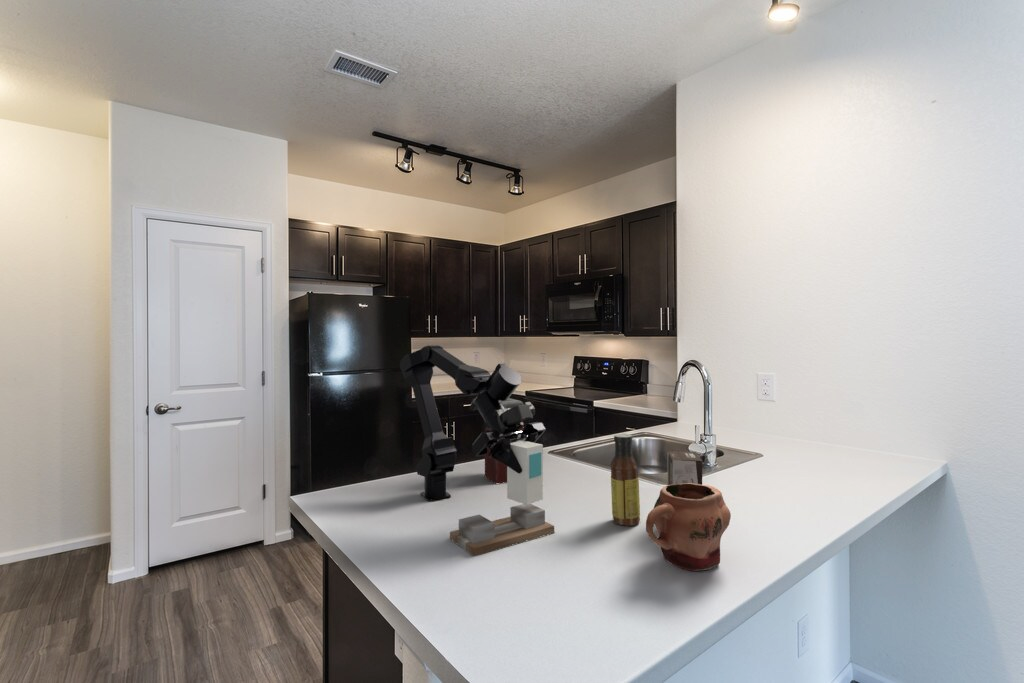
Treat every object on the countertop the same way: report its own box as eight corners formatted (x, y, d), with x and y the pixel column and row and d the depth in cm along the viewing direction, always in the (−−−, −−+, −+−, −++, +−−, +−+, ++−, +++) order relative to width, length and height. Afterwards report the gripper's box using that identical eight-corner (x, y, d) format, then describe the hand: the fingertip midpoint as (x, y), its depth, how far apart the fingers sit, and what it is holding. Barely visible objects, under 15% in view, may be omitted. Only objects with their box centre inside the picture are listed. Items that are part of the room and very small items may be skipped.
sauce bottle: (641, 519, 115) (641, 433, 115) (638, 528, 109) (639, 438, 109) (612, 515, 117) (612, 431, 117) (608, 525, 111) (608, 436, 111)
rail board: (449, 538, 104) (449, 517, 104) (526, 518, 115) (526, 499, 115) (474, 556, 96) (473, 533, 96) (554, 532, 107) (554, 512, 107)
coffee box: (703, 537, 105) (703, 460, 105) (671, 534, 106) (671, 459, 106) (696, 521, 114) (696, 451, 114) (666, 519, 115) (666, 449, 115)
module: (507, 498, 109) (507, 443, 109) (522, 493, 113) (523, 440, 112) (527, 505, 105) (527, 448, 105) (543, 499, 108) (543, 444, 108)
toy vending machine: (507, 470, 157) (507, 382, 156) (523, 480, 147) (523, 385, 146) (481, 474, 153) (481, 383, 153) (496, 484, 143) (495, 386, 143)
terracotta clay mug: (681, 593, 82) (681, 509, 82) (624, 565, 92) (624, 490, 92) (746, 561, 93) (746, 487, 93) (690, 539, 103) (690, 473, 103)
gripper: (480, 394, 105) (518, 455, 97) (540, 387, 118) (576, 441, 110) (457, 426, 110) (490, 487, 103) (516, 417, 123) (549, 469, 116)
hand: (529, 469), depth 108 cm, fingers closed on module, 5 cm apart
